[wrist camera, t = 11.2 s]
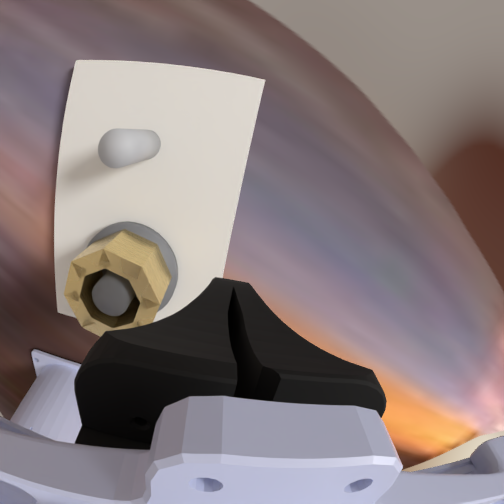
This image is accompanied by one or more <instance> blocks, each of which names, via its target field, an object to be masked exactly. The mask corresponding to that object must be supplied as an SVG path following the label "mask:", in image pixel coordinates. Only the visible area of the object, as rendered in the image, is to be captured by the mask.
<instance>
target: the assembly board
mask: <svg viewBox="0 0 504 504" xmlns="http://www.w3.org/2000/svg"><path fill="white" fill-rule="evenodd" d="M264 83H265V80H263V79H259V78H254V77H249V76H244V75H239V74H233V73H228V72H222V71H216V70H210V69H203V68H196V67H188V66H180V65H171V64H161V63H150V62H135V61H114V60H76V63H75V67H74V71H73V75H72V80H71V84H70V89H69V94H68V99H67V104H66V110H65V115H64V122H63V128H62V135H61V142H60V150H59V159H58V169H57V180H56V195H55V218H54V260H55V283H56V298H57V310H58V313H61V314H65V315H68V316H72V317H75V318H76V316H75V314H74V312H73V311H72V309H71V307H70V305H69V303H68V302H67V300H66V298H65V296H64V291H65V286H66V281H67V277H68V272H69V268H70V264H71V261H72V260H73V259H75V258H76V257H77V256H78V255H79V254H80V253H82V252H83V251H84V250H85V249H86V248H87V247H89V246H90V245H91V244H92V243H93V242H95V241H96V240H99V239H101V238H103V237H106V236H108V235H111V234H113V233H116V232H118V231H121V230H123V229H126V230H128V231H130V232H133V233H135V234H137V235H139V236H141V237H143V238H145V239H147V240H150V241H152V242H154V243H156V244H158V246H159V249H160V251H161V253H162V256H163V258H164V260H165V262H166V265H167V267H168V269H169V272H170V274H171V276H172V278H171V280H170V283H169V285H168V287H167V290H166V292H165V294H164V297H163V299H162V302H161V304H160V306H159V309H158V311H157V314H156V316H155V318H154V321H153V322H156V321H159V320H161V319H163V318H166V317H168V316H170V315H173V314H174V313H176V312H178V311H179V310H181V309H182V308H184V307H185V306H187V305H188V304H189V303H190V302H192V301H193V300H194V299H195V298H196V297H198V296H199V295H200V294H201V293H202V292H203V291H204V290H205V288H206V287H207V286H208V285H209V284H210V282H211V281H212V279H213V278H215V277H219V278H222V277H223V272H224V267H225V262H226V257H227V252H228V247H229V242H230V237H231V233H232V228H233V223H234V218H235V213H236V209H237V204H238V199H239V194H240V190H241V185H242V181H243V176H244V171H245V167H246V162H247V158H248V153H249V149H250V144H251V140H252V135H253V131H254V126H255V122H256V117H257V113H258V109H259V104H260V100H261V96H262V91H263V87H264ZM102 273H103V276H102V278H101V279H100V280H99V281H98V282H97V283H96V285H95V286H94V288H93V290H92V298H93V301H94V303H95V305H96V306H97V308H98V309H99V310H100V311H102V312H103V313H105V314H107V315H110V316H118V315H121V314H123V313H124V312H125V311H126V310H127V308H128V306H129V304H130V303H131V301H132V299H133V298H135V297H137V295H136V293H135V291H134V289H133V287H132V285H131V283H130V281H129V280H128V279H126V278H124V277H122V276H120V275H118V274H116V273H114V272H112V271H109V270H107V269H102Z"/></svg>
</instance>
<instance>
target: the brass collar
mask: <svg viewBox="0 0 504 504" xmlns="http://www.w3.org/2000/svg"><path fill="white" fill-rule="evenodd" d="M102 269H107V270H109V271H112V272H114V273H116V274H118V275H120V276H122V277H124V278H126V279H128V280H129V281H130V283H131V285H132V287H133V289H134V291H135V293H136V295H137V297H135V298H133V299H132V301H131V303H130V304H129V306H128V308H127V310H126V311H125V312H124V313H123V314H121V315H118V316H110V315H107V314H105V313H103V312H102V311H100V310H99V309H98V308H97V306H96V305H95V303H94V301H93V298H92V290H93V288H94V286H95V285H96V283H97V282H98V281H99V280H100V279H101V278H102V276H103V273H102ZM171 278H172V276H171V274H170V272H169V269H168V267H167V265H166V262H165V260H164V258H163V256H162V253H161V251H160V249H159V246H158V244H156V243H154V242H152V241H150V240H147V239H145V238H143V237H141V236H139V235H137V234H135V233H133V232H130V231H128V230H126V229H123V230H121V231H118V232H116V233H113V234H111V235H108V236H106V237H103V238H101V239H99V240H96V241H95V242H93V243H92V244H91V245H90V246H89V247H87V248H86V249H85V250H84V251H83V252H82V253H80V254H79V255H78V256H77V257H76V258H75V259H73V260H72V261H71V264H70V268H69V272H68V277H67V281H66V286H65V291H64V296H65V298H66V300H67V302H68V303H69V305H70V307H71V309H72V311H73V312H74V314H75V316H76V318H77V319H78V321H79V323H80V325H81V326H82V327H83V328H85V329H87V330H89V331H91V332H93V333H95V334H97V335H99V336H102V335H103V334H104V332H105V331H112V330H120V329H128V328H134V327H138V326H142V325H146V324H150V323H153V321H154V318H155V316H156V314H157V311H158V309H159V306H160V304H161V302H162V299H163V297H164V294H165V292H166V290H167V287H168V285H169V283H170V280H171Z"/></svg>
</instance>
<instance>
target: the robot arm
mask: <svg viewBox="0 0 504 504" xmlns="http://www.w3.org/2000/svg"><path fill="white" fill-rule="evenodd" d="M31 354H32V359H33V363H34V367H35V371H36V375H37V378H36V380H35V381H34V383H33V384H32V386H31V387H30V389H29V391H28V392H27V394H26V395H25V397H24V398H23V400H22V402H21V403H20V405H19V406H18V408H17V410H16V411H15V413H14V415H13V416H12V418H11V420H10V421H9V420H7V419H5V418H3V417H1V416H0V504H504V436H500V437H497V438H494V439H491V440H488V441H485V442H484V443H483V444H481V445H480V446H479V447H478V448H477V449H476V450H475V451H474V452H473V453H472V454H471V456H470V458H466V459H463V460H460V461H456V462H453V463H449V464H445V465H441V466H437V467H433V468H428V469H423V470H418V471H414V472H406V471H401V470H402V468H403V466H402V463H401V461H400V459H399V456H398V454H397V452H396V449H395V447H394V445H393V442H392V440H391V438H390V436H389V433H388V431H387V429H386V427H385V424H384V422H383V421H382V419H381V417H382V415H383V413H384V411H385V408H386V397H385V394H384V391H383V389H382V387H381V385H380V384H379V382H378V380H377V378H376V376H375V374H374V372H373V370H371V369H368V368H365V367H362V366H359V365H356V364H353V363H350V362H348V361H345V360H343V359H340V358H338V357H336V356H334V355H332V354H330V353H328V352H326V351H324V350H322V349H320V348H318V347H317V346H315V345H313V344H312V343H310V342H308V341H307V340H305V339H304V338H302V337H301V336H300V335H298V334H297V333H296V332H294V331H293V330H292V329H291V328H289V327H288V326H287V325H286V324H285V323H283V322H282V321H281V320H280V319H279V318H278V317H277V316H276V315H275V314H274V313H273V312H272V311H271V309H270V308H269V307H268V306H267V305H266V304H265V303H264V301H263V300H262V299H261V298H260V296H259V295H258V294H257V293H256V291H255V290H254V289H253V287H252V286H251V285H250V284H249V283H246V282H241V281H235V280H230V279H224V278H219V277H215V278H213V279H212V281H211V282H210V284H209V285H208V286H207V287H206V288H205V290H204V291H203V292H202V293H201V294H200V295H199V296H198V297H196V298H195V299H194V300H193V301H192V302H190V303H189V304H188V305H187V306H185V307H184V308H182V309H181V310H179V311H178V312H176V313H174V314H173V315H170V316H168V317H166V318H163V319H161V320H159V321H156V322H153V323H150V324H146V325H142V326H138V327H134V328H128V329H120V330H112V331H105V332H104V334H103V335H102V336H101V337H100V338H99V340H98V341H97V342H96V343H95V344H94V346H93V347H92V348H91V349H90V351H89V352H88V354H87V356H86V357H85V359H84V361H83V363H82V364H78V363H75V362H72V361H69V360H66V359H63V358H59V357H56V356H54V355H51V354H48V353H45V352H42V351H39V350H36V349H34V350H33V351H32V352H31Z"/></svg>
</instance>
